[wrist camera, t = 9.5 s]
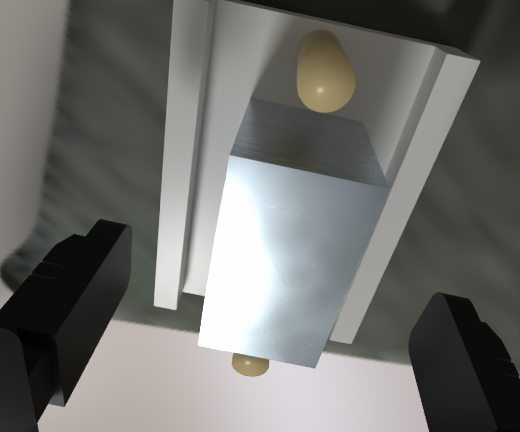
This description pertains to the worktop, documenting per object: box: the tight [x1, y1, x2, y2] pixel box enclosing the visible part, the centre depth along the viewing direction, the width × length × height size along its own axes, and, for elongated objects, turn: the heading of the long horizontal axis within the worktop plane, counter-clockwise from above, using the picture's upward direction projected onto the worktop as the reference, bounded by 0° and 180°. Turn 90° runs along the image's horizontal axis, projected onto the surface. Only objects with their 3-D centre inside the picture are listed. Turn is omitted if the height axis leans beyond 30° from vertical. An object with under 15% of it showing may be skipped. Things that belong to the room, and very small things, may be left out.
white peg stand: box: [154, 0, 480, 376], centre depth 15 cm, size 12×9×5 cm
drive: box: [198, 97, 389, 368], centre depth 14 cm, size 7×4×5 cm, turn 169°
